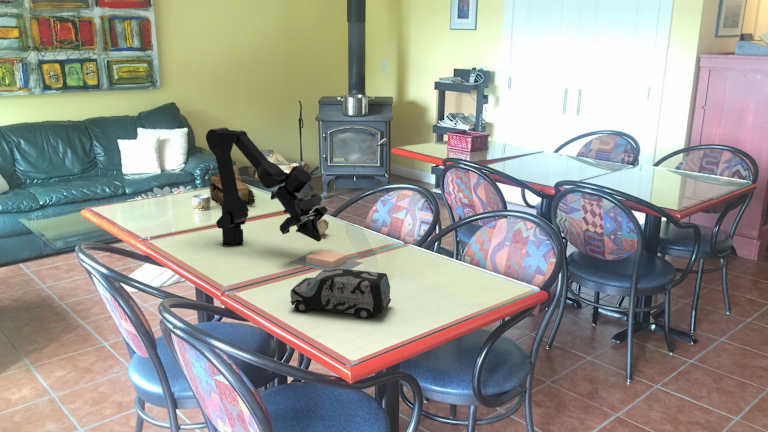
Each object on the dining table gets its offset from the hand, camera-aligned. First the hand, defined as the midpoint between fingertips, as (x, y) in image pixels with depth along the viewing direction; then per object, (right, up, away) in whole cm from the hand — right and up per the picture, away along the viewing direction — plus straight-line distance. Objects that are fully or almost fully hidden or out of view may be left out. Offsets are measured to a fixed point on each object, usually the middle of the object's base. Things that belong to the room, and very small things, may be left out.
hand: (320, 240), depth 198 cm
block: (-2, -5, +3) cm, 6 cm away
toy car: (+9, -17, -33) cm, 38 cm away
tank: (-46, +13, +77) cm, 91 cm away
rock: (-5, +1, +31) cm, 31 cm away
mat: (+2, -7, +1) cm, 7 cm away
